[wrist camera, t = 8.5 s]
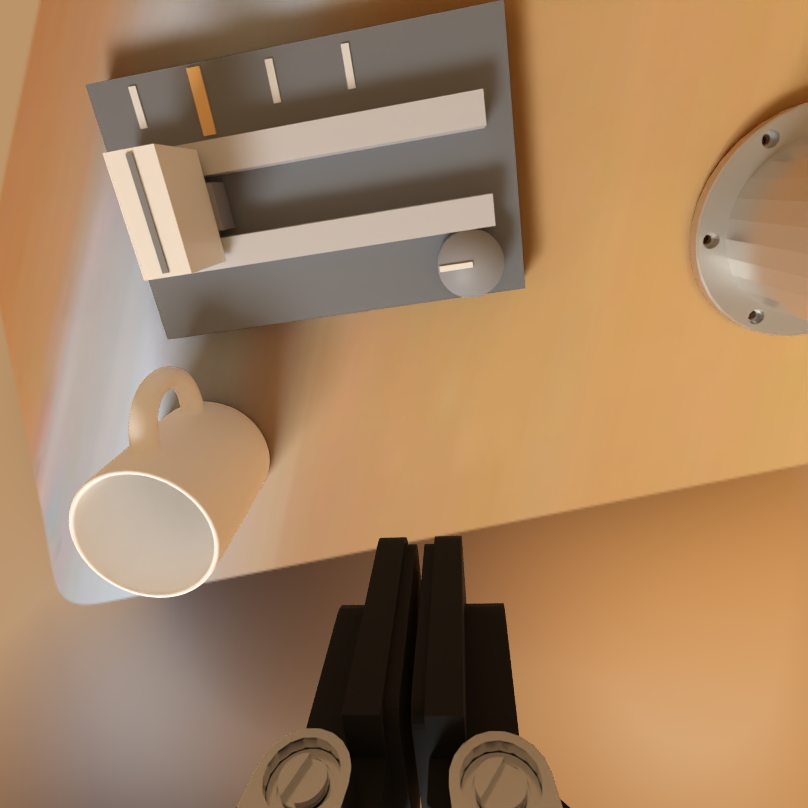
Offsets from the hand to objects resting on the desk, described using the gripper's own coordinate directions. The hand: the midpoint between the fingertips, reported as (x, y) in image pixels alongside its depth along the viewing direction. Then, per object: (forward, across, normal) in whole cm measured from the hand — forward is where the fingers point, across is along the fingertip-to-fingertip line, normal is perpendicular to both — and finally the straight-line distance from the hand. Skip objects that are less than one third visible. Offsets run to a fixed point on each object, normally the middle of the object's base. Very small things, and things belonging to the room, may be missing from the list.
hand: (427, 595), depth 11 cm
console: (+25, +7, -8) cm, 27 cm away
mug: (+25, +17, +7) cm, 31 cm away
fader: (+23, +13, -8) cm, 27 cm away
